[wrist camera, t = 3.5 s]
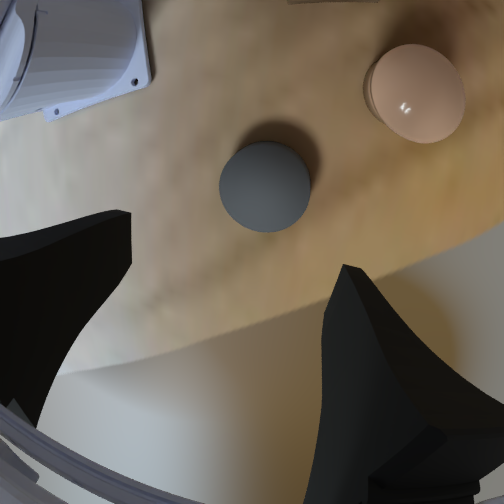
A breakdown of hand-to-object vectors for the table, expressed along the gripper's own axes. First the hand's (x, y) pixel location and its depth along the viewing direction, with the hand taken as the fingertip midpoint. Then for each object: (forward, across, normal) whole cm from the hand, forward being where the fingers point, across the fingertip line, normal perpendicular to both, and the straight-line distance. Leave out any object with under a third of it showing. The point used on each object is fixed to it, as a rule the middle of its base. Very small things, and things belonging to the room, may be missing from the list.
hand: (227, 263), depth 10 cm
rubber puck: (+10, 0, 0) cm, 10 cm away
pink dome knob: (+10, -6, -7) cm, 13 cm away
